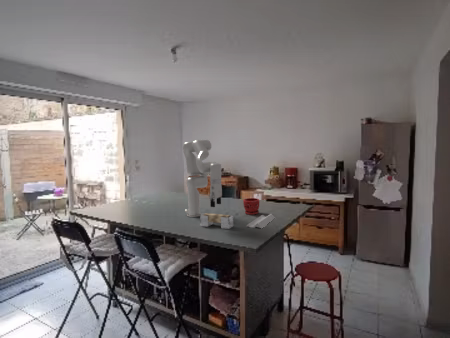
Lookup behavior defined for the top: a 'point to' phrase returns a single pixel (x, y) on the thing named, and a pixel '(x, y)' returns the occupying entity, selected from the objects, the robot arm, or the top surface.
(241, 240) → the top surface
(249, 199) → the plant pot
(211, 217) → the beige wooden bar
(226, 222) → the cup brackets
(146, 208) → the top surface
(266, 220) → the crown molding
